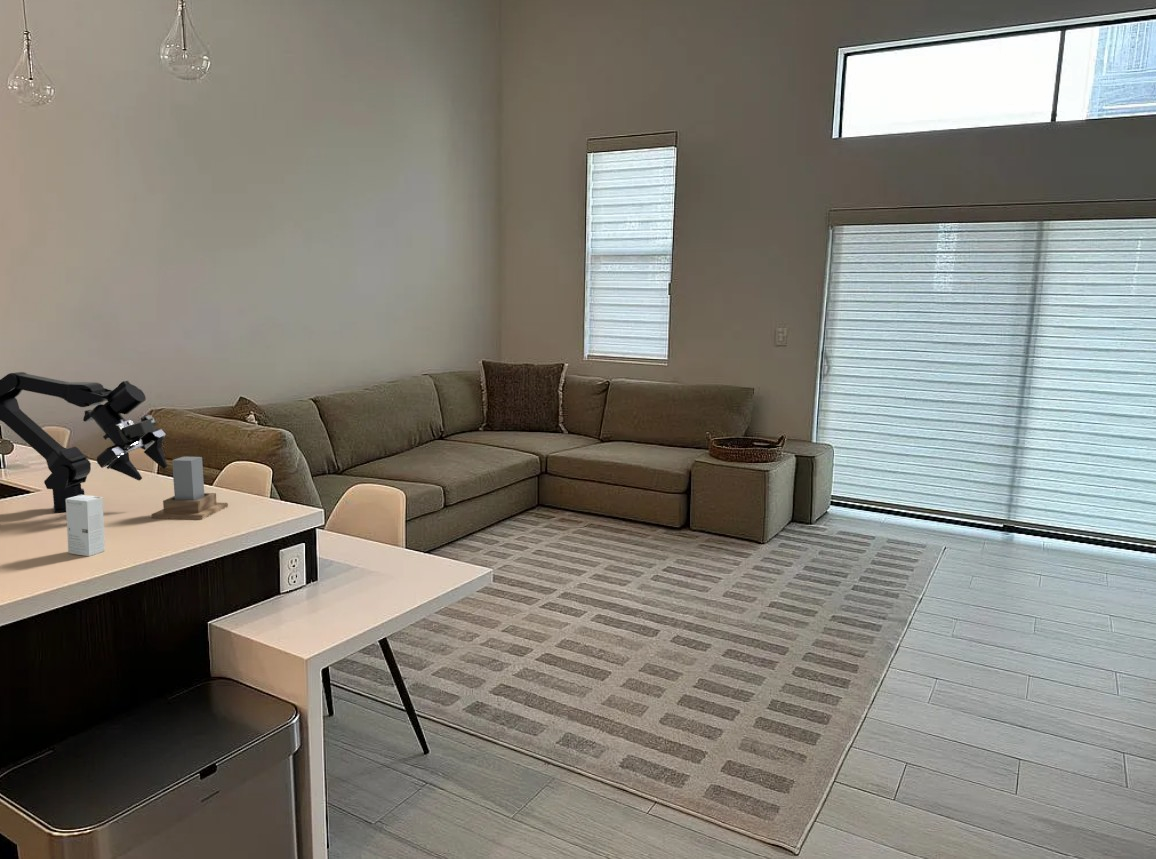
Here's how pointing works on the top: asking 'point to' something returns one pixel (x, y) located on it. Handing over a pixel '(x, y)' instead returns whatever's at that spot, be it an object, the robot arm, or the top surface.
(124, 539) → the top surface
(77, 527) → the skincare box
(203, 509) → the walnut socket
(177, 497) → the grey rectangular block
